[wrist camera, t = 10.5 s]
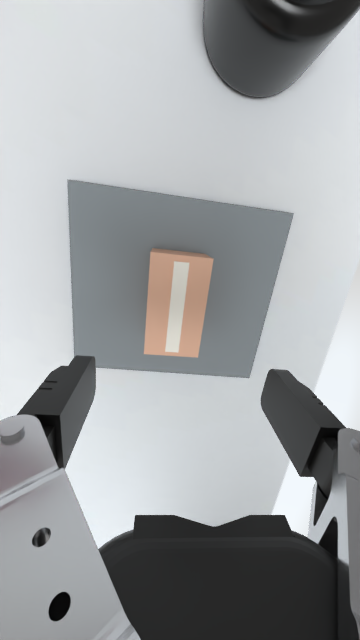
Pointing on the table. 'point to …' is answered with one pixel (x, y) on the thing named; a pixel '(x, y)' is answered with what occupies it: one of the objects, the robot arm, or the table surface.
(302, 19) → the ink bottle
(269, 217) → the mat
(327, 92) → the table surface
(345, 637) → the robot arm
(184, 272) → the box
